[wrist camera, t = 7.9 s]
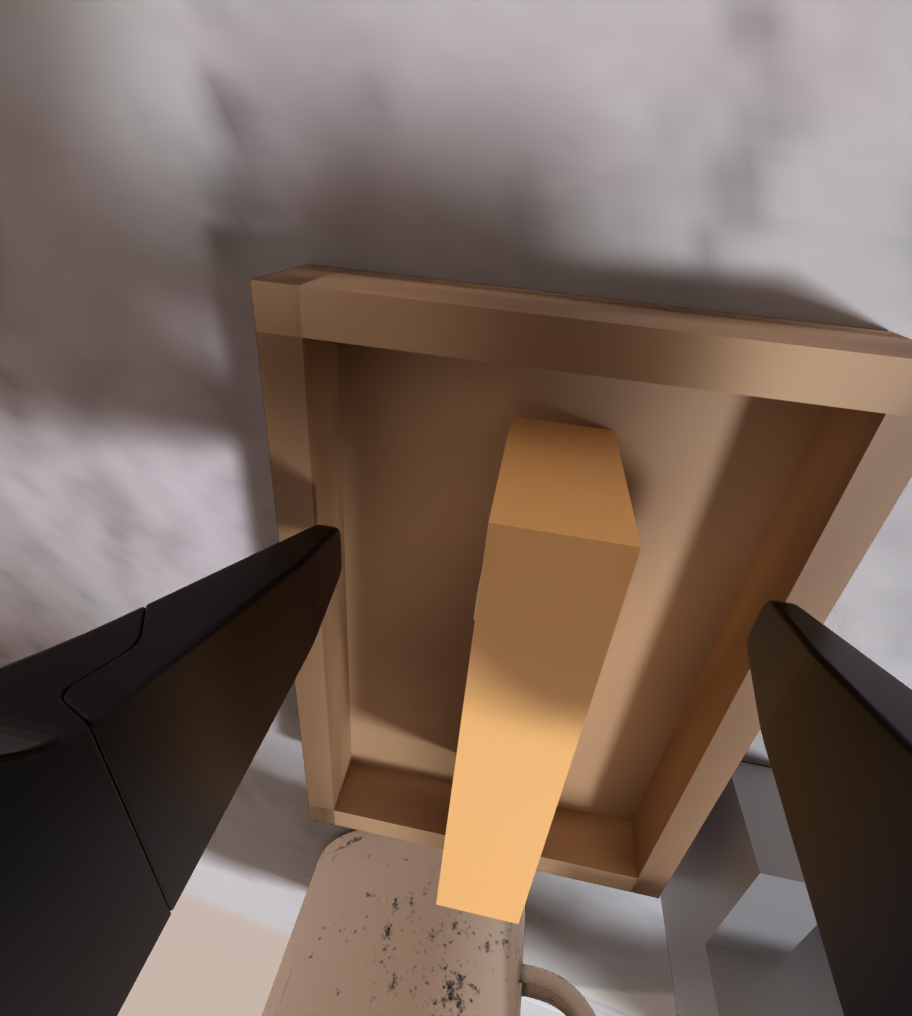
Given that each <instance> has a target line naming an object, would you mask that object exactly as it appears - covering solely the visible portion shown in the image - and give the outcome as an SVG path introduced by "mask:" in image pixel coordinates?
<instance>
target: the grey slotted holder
mask: <svg viewBox="0 0 912 1016" xmlns="http://www.w3.org/2000/svg"><path fill="white" fill-rule="evenodd" d="M660 896H661V903H662V910H663V917H664V924H665V931H666V938H667V945H668V952H669V959H670V966H671V973H672V980H673V987H674V994H675V1001H676V1008H677V1015H678V1016H844V1015H843V1012H842V1008H841V1005H840V1001H839V998H838V995H837V991H836V988H835V984H834V981H833V977H832V974H831V971H830V967H829V964H828V960H827V957H826V953H825V950H824V947H823V943H822V940H821V936H820V933H819V929H818V926H817V923H816V919H815V916H814V912H813V909H812V905H811V902H810V899H809V895H808V892H807V888H806V885H805V881H804V878H803V875H802V871H801V868H800V864H799V861H798V857H797V854H796V850H795V847H794V844H793V840H792V837H791V833H790V830H789V826H788V823H787V820H786V816H785V813H784V809H783V806H782V802H781V799H780V796H779V792H778V789H777V785H776V782H775V778H774V775H773V772H772V768H769V767H764V766H759V765H754V764H749V763H744V762H740V763H739V765H738V767H737V768H736V770H735V772H734V773H733V775H732V777H731V778H730V780H729V782H728V783H727V785H726V787H725V788H724V790H723V792H722V793H721V795H720V797H719V798H718V800H717V802H716V803H715V805H714V807H713V808H712V810H711V812H710V813H709V815H708V817H707V818H706V820H705V822H704V823H703V825H702V827H701V828H700V830H699V832H698V833H697V835H696V837H695V838H694V840H693V842H692V843H691V845H690V847H689V848H688V850H687V852H686V853H685V855H684V857H683V858H682V860H681V862H680V863H679V865H678V867H677V868H676V870H675V872H674V873H673V875H672V877H671V878H670V880H669V882H668V883H667V885H666V887H665V888H664V890H663V892H662V893H661V895H660Z"/></svg>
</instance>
